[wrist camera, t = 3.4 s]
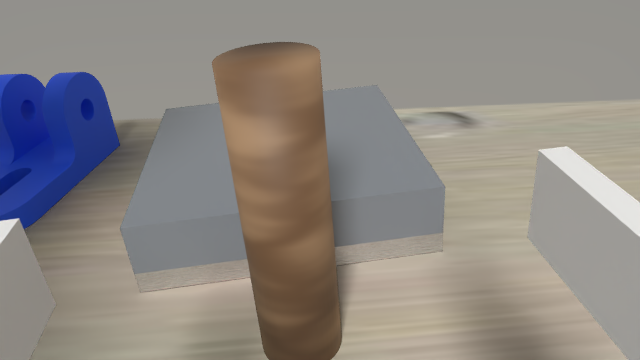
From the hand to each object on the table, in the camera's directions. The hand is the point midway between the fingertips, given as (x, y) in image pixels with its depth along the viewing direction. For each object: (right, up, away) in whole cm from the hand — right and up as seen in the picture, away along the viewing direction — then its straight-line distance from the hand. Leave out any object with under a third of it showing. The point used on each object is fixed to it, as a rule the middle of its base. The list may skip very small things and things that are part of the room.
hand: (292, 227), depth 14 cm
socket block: (-2, 0, +30) cm, 30 cm away
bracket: (-26, 0, +34) cm, 43 cm away
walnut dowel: (0, -8, +16) cm, 17 cm away
